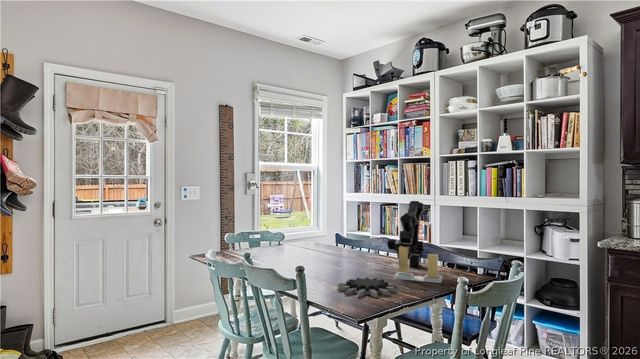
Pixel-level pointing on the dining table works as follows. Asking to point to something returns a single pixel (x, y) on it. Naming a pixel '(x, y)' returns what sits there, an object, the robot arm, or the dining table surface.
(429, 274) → the seated billet
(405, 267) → the billet
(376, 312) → the dining table surface
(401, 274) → the white shallow tray
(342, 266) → the dining table surface
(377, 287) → the decorative piece
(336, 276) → the dining table surface
